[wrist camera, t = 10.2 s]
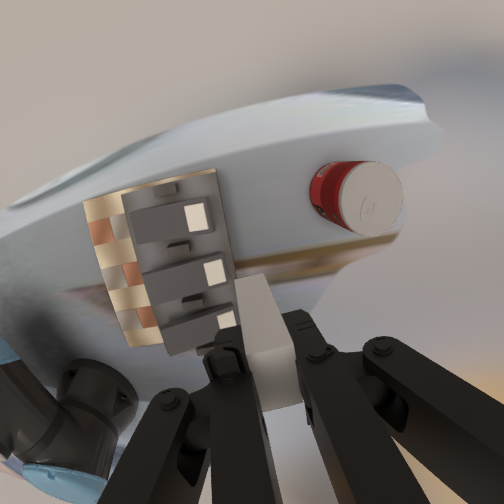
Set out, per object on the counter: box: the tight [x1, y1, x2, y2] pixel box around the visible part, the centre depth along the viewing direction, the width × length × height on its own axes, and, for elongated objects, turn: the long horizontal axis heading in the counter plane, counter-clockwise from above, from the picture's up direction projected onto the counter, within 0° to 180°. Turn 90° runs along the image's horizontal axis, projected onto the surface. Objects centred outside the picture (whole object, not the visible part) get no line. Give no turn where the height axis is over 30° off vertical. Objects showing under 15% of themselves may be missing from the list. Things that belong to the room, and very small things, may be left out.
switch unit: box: [83, 168, 241, 356], centre depth 35 cm, size 18×22×7 cm
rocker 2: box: [159, 302, 238, 356], centre depth 34 cm, size 9×4×1 cm, turn 101°
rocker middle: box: [142, 251, 229, 306], centre depth 32 cm, size 9×4×1 cm, turn 101°
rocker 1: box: [129, 196, 216, 245], centre depth 30 cm, size 9×4×1 cm, turn 100°
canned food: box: [310, 161, 403, 237], centre depth 33 cm, size 8×8×11 cm
